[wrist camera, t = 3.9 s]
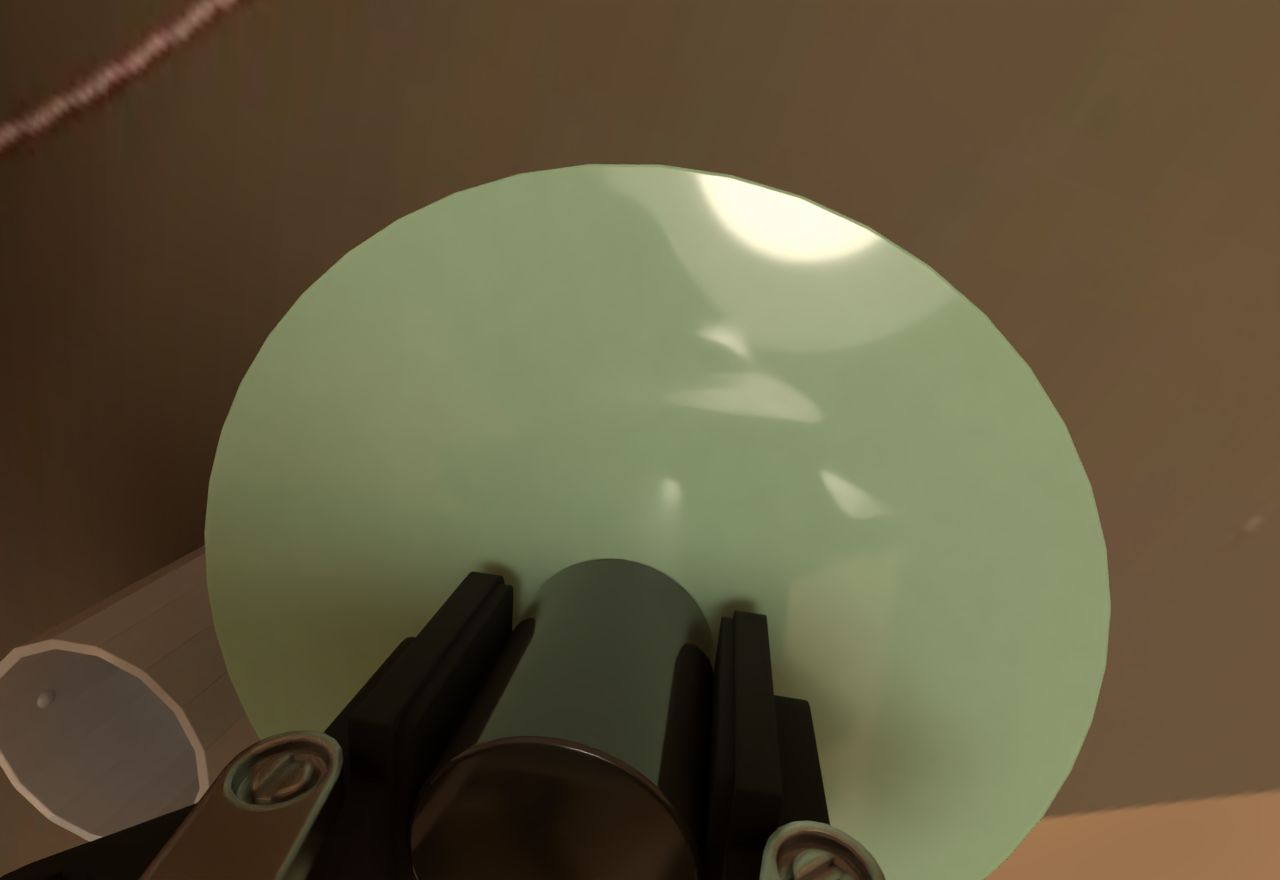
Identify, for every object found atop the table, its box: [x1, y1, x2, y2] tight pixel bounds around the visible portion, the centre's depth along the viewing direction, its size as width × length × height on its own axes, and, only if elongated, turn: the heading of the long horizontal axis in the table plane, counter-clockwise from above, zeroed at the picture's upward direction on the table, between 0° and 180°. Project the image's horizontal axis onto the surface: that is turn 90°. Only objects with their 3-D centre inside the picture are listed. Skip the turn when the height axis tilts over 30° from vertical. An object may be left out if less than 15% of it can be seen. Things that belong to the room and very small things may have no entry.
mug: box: [0, 545, 260, 842], centre depth 21 cm, size 9×7×7 cm
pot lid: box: [204, 164, 1111, 880], centre depth 10 cm, size 17×17×6 cm
